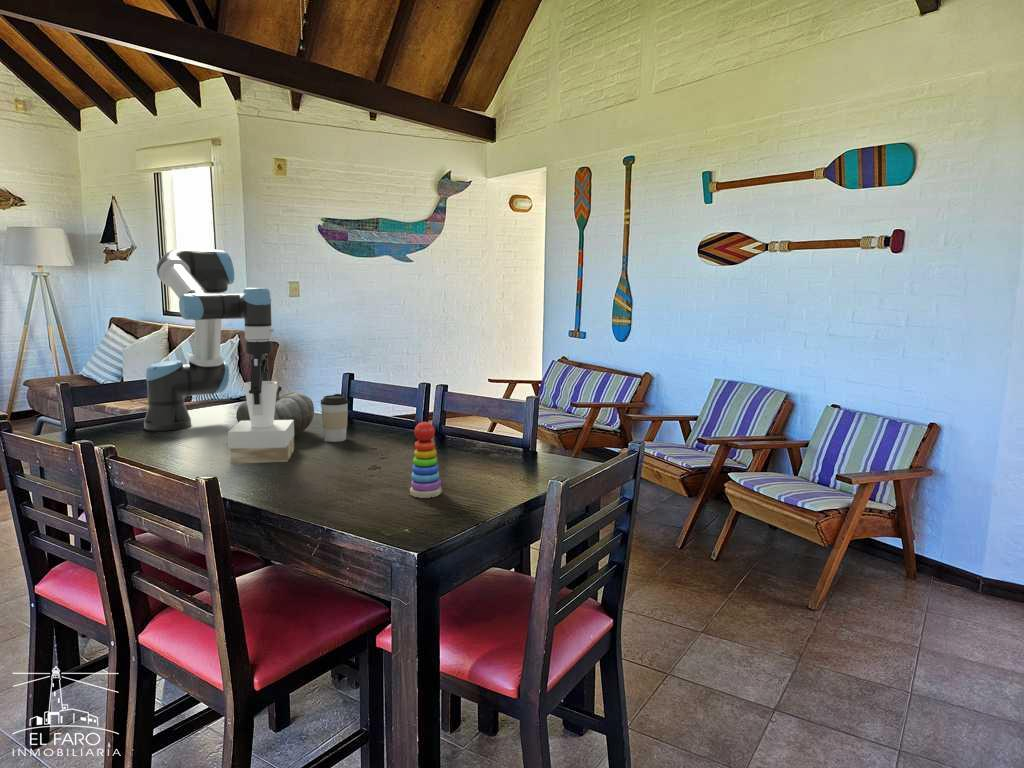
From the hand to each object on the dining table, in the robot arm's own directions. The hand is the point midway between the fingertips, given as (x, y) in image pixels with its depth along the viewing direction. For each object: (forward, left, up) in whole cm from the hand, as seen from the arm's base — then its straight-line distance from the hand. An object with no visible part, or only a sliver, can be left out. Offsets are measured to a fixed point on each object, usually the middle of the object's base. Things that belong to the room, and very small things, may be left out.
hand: (261, 410), depth 207 cm
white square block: (0, 0, -10) cm, 10 cm away
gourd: (-27, 0, -14) cm, 31 cm away
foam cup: (0, 0, -5) cm, 5 cm away
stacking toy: (+45, +46, -14) cm, 66 cm away
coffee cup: (-19, +20, -14) cm, 31 cm away
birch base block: (0, 0, -15) cm, 15 cm away
